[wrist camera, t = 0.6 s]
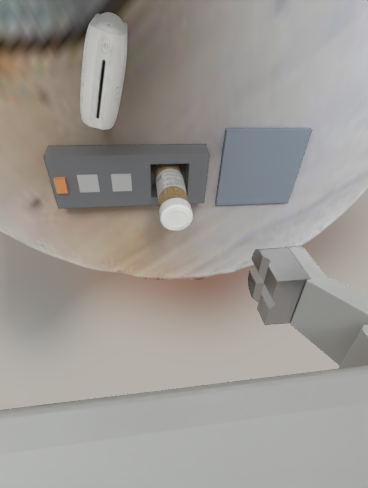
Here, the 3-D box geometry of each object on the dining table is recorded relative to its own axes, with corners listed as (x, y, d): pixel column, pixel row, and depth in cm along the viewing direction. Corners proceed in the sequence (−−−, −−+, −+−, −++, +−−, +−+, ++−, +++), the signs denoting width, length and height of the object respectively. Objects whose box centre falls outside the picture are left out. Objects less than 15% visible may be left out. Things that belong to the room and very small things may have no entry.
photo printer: (94, 5, 35) (82, 19, 26) (131, 17, 37) (131, 35, 28) (86, 96, 42) (74, 132, 33) (117, 104, 43) (114, 141, 34)
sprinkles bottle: (170, 186, 53) (179, 237, 43) (148, 173, 51) (153, 223, 41) (186, 166, 51) (200, 215, 41) (164, 152, 49) (174, 199, 39)
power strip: (48, 145, 46) (42, 159, 43) (205, 143, 49) (210, 156, 46) (61, 196, 52) (57, 211, 49) (200, 191, 55) (204, 205, 52)
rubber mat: (225, 128, 48) (227, 130, 47) (310, 127, 49) (312, 129, 49) (215, 202, 57) (216, 205, 56) (286, 200, 59) (287, 202, 58)
